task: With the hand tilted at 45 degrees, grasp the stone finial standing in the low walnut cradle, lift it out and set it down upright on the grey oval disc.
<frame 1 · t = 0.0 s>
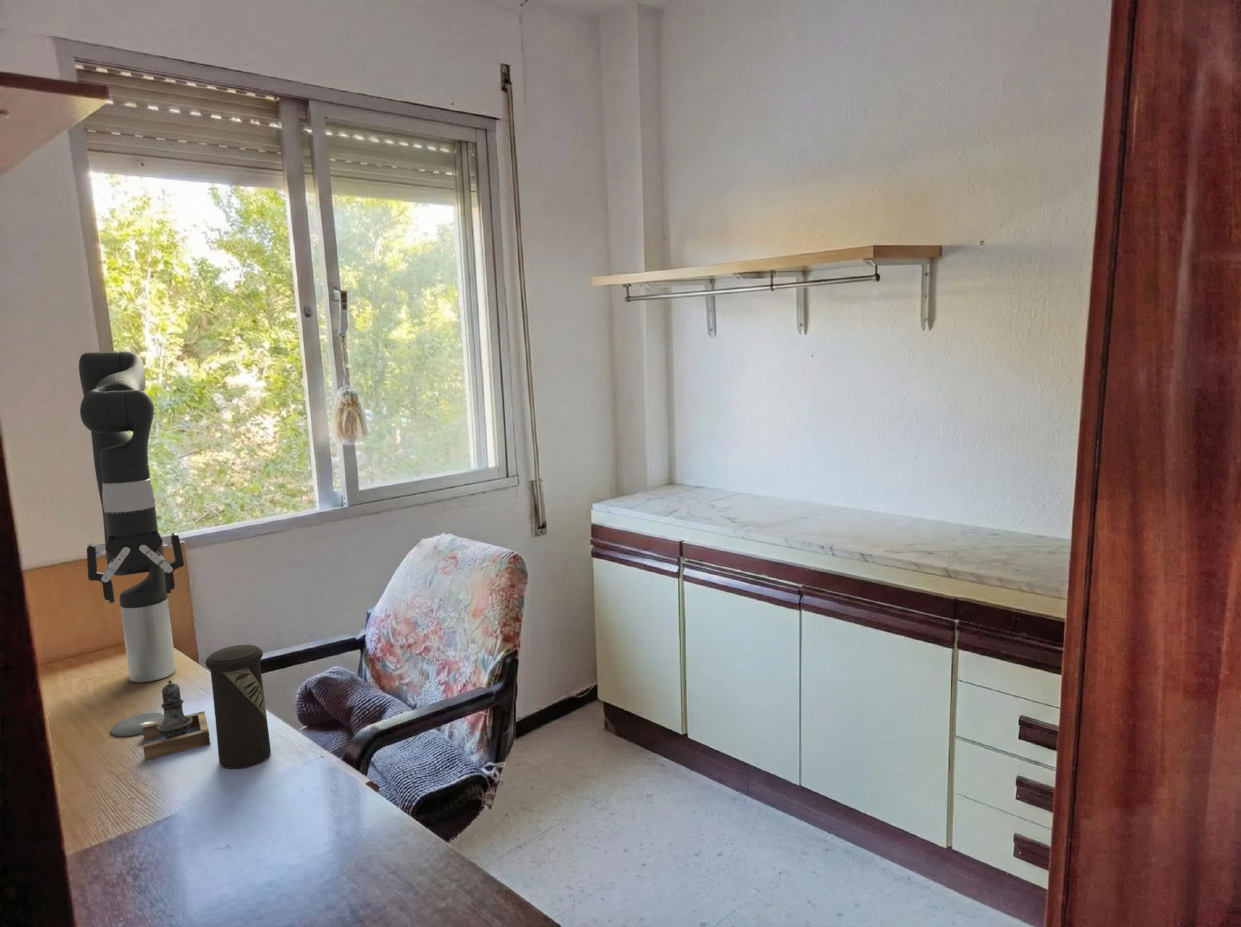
hand: (140, 597, 139), 29 cm above the table, tool pointing down, fingers open, 8 cm apart
cradle: (176, 741, 148), on the table
stone finial: (176, 742, 148), resting in cradle
grey oval disc: (138, 725, 155), on the table
container: (245, 759, 140), on the table
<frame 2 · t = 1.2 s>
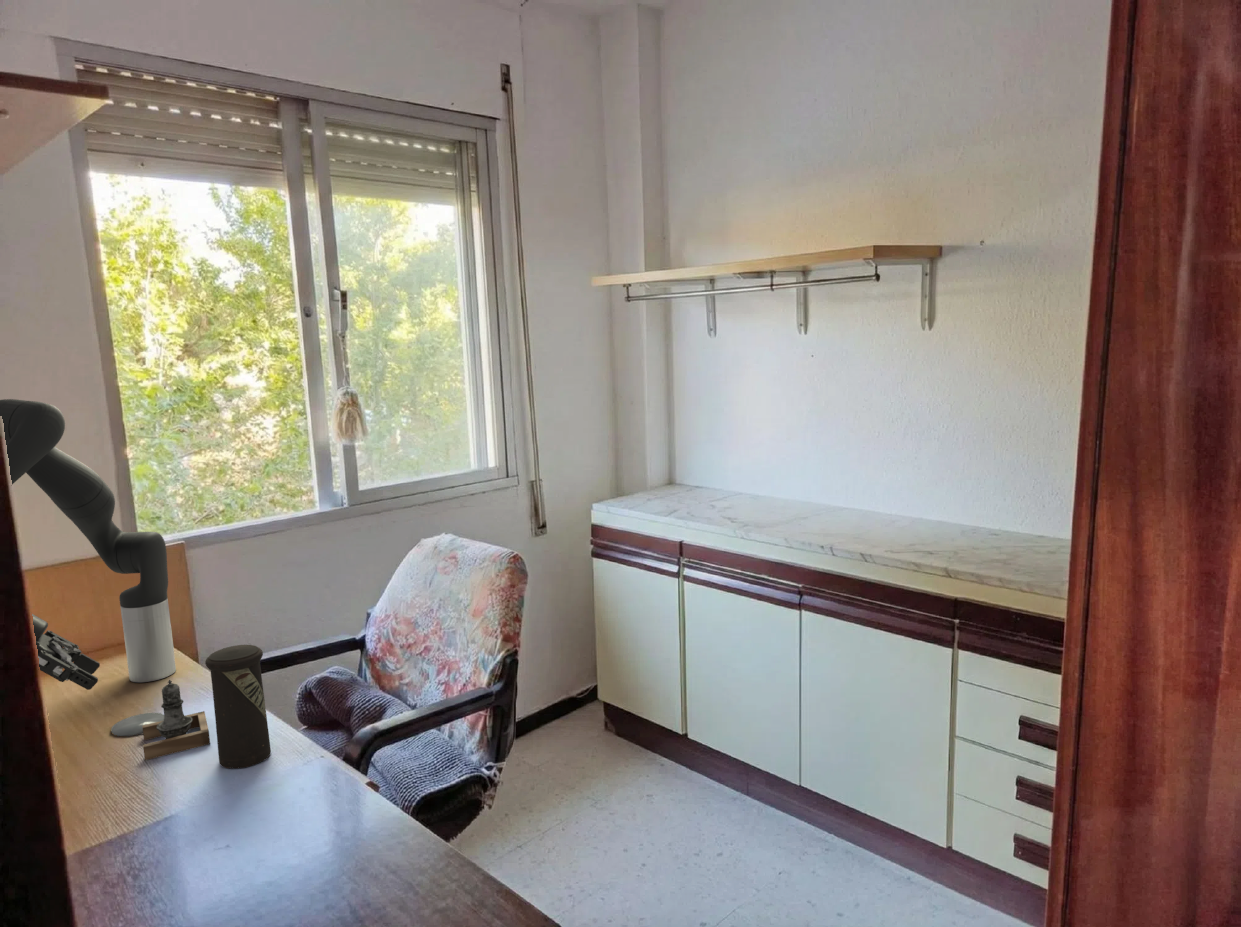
hand: (95, 676, 140), 15 cm above the table, tool tilted 45°, fingers open, 8 cm apart
nothing on the table moved.
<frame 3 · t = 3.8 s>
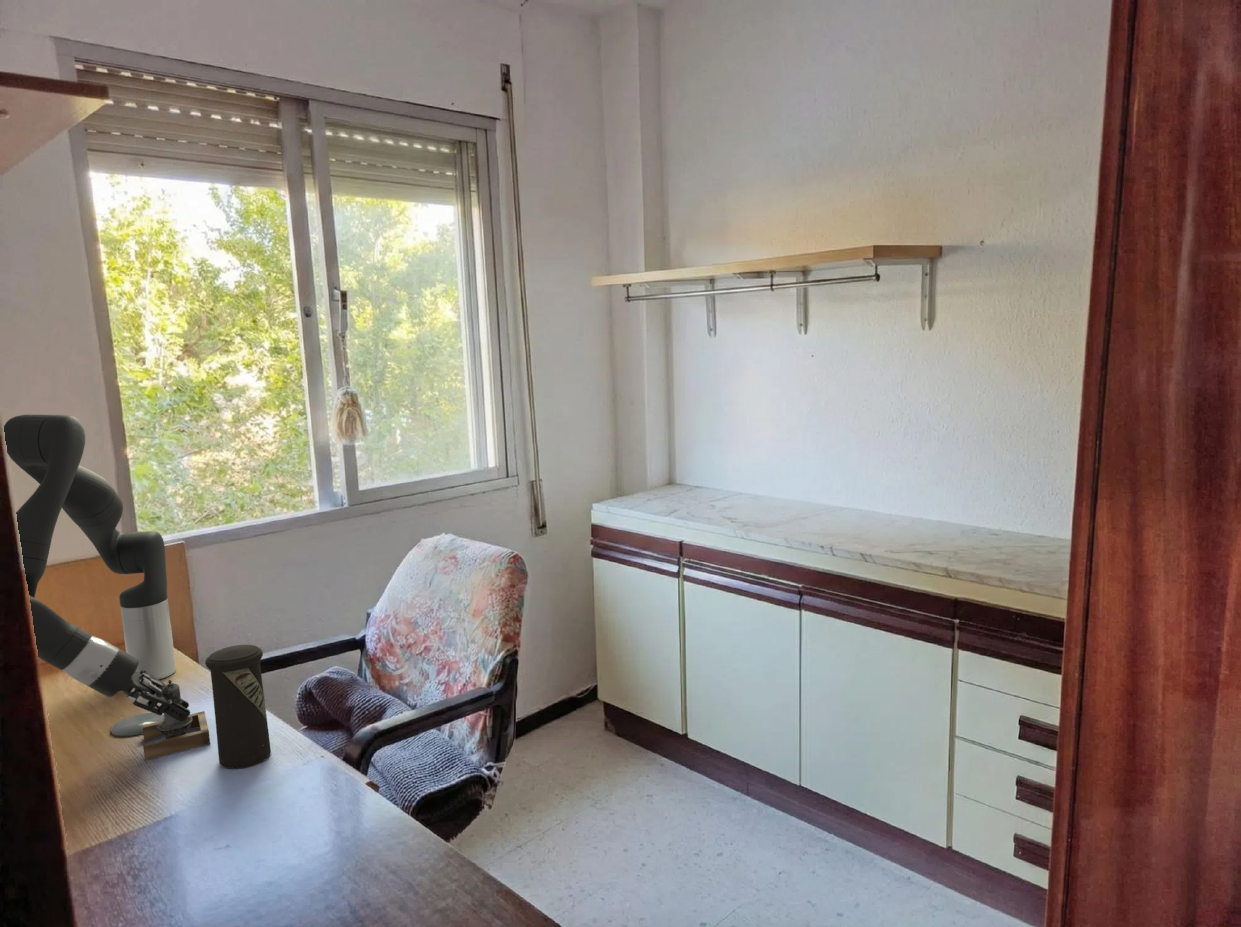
hand: (185, 712, 148), 5 cm above the table, tool tilted 45°, fingers closed on stone finial, 3 cm apart
stone finial: (176, 742, 148), resting in cradle, touching gripper
everything else where it was.
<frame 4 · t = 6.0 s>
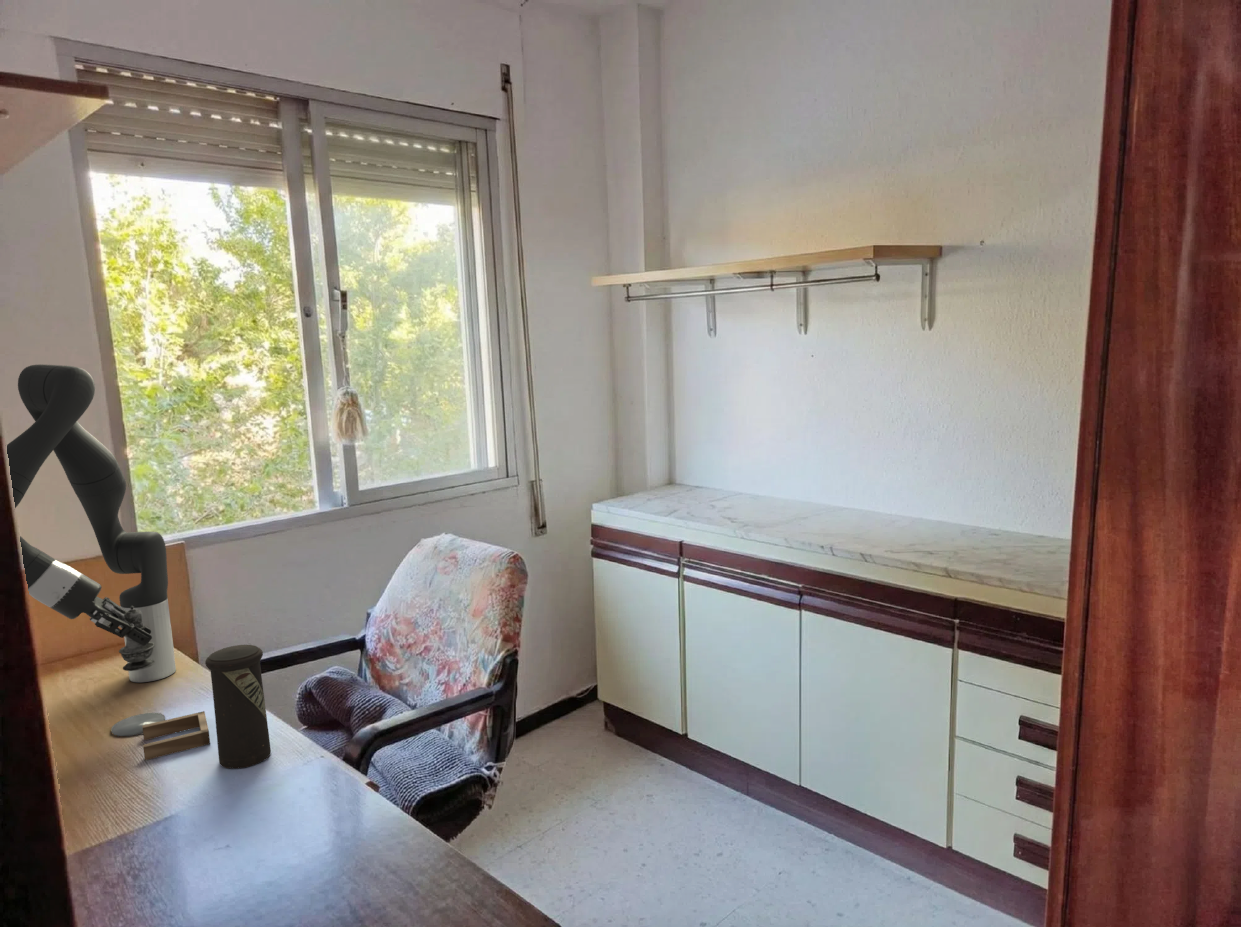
hand: (148, 638, 153), 18 cm above the table, tool tilted 45°, fingers closed on stone finial, 3 cm apart
stone finial: (139, 666, 152), point 12 cm above the table, touching gripper
everything else where it was.
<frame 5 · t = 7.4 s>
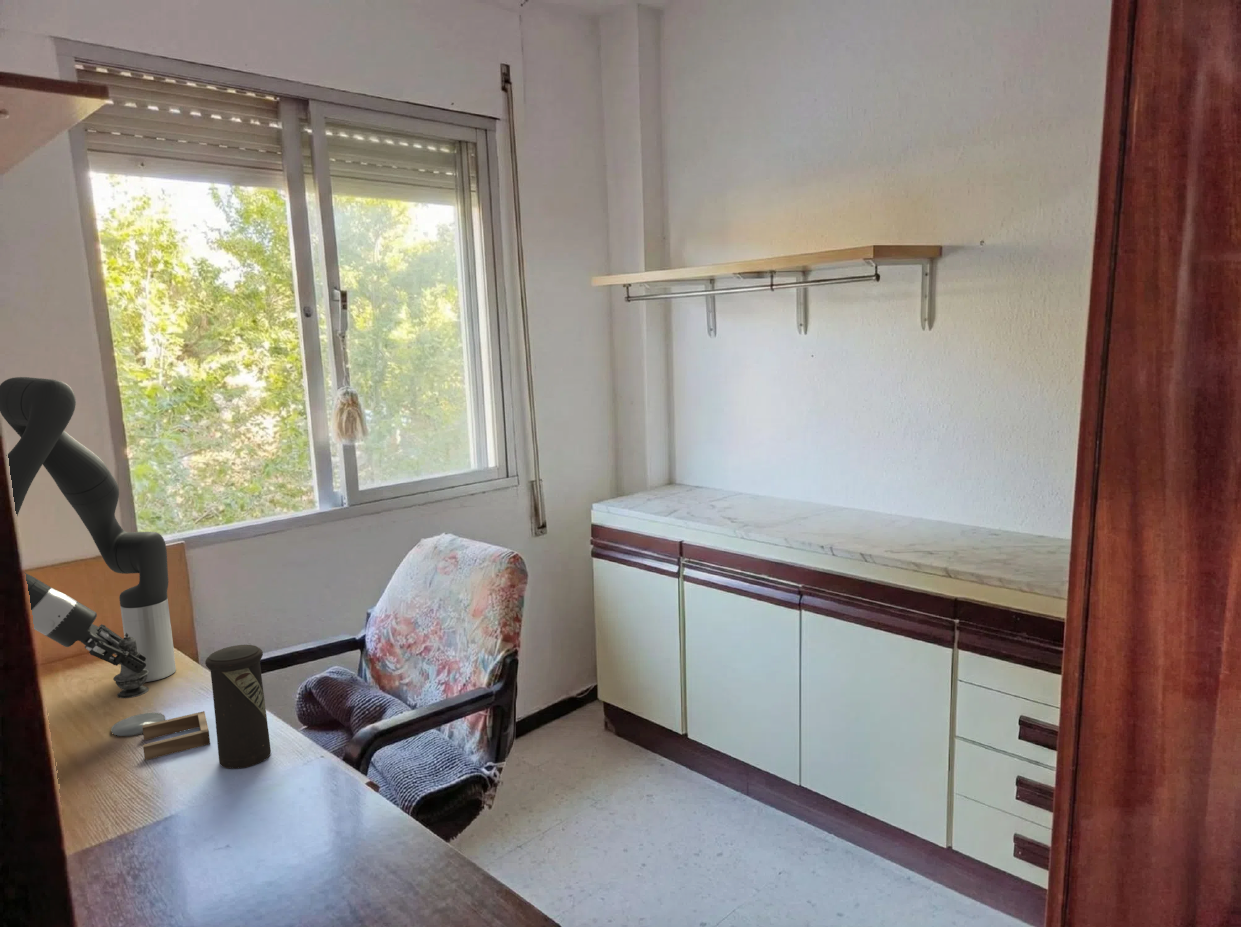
hand: (142, 665, 154), 12 cm above the table, tool tilted 45°, fingers closed on stone finial, 3 cm apart
stone finial: (133, 693, 154), point 7 cm above the table, touching gripper
everything else where it was.
when the fingers open (7 cm above the table, at t = 8.6 s): stone finial drops 1 cm, resting on grey oval disc.
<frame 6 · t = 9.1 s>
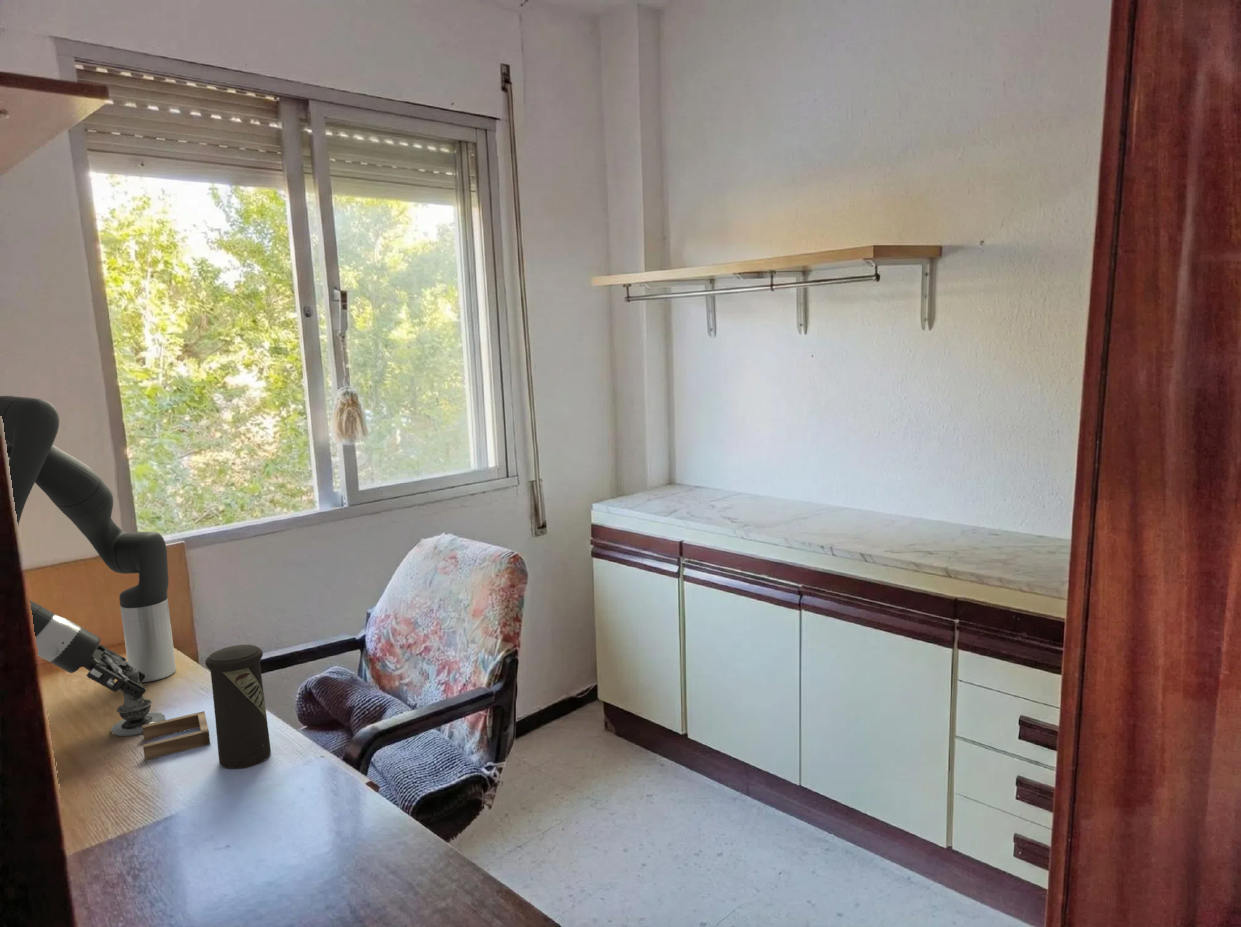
hand: (142, 687, 155), 8 cm above the table, tool tilted 45°, fingers open, 8 cm apart
stone finial: (137, 723, 155), resting on grey oval disc
everything else where it was.
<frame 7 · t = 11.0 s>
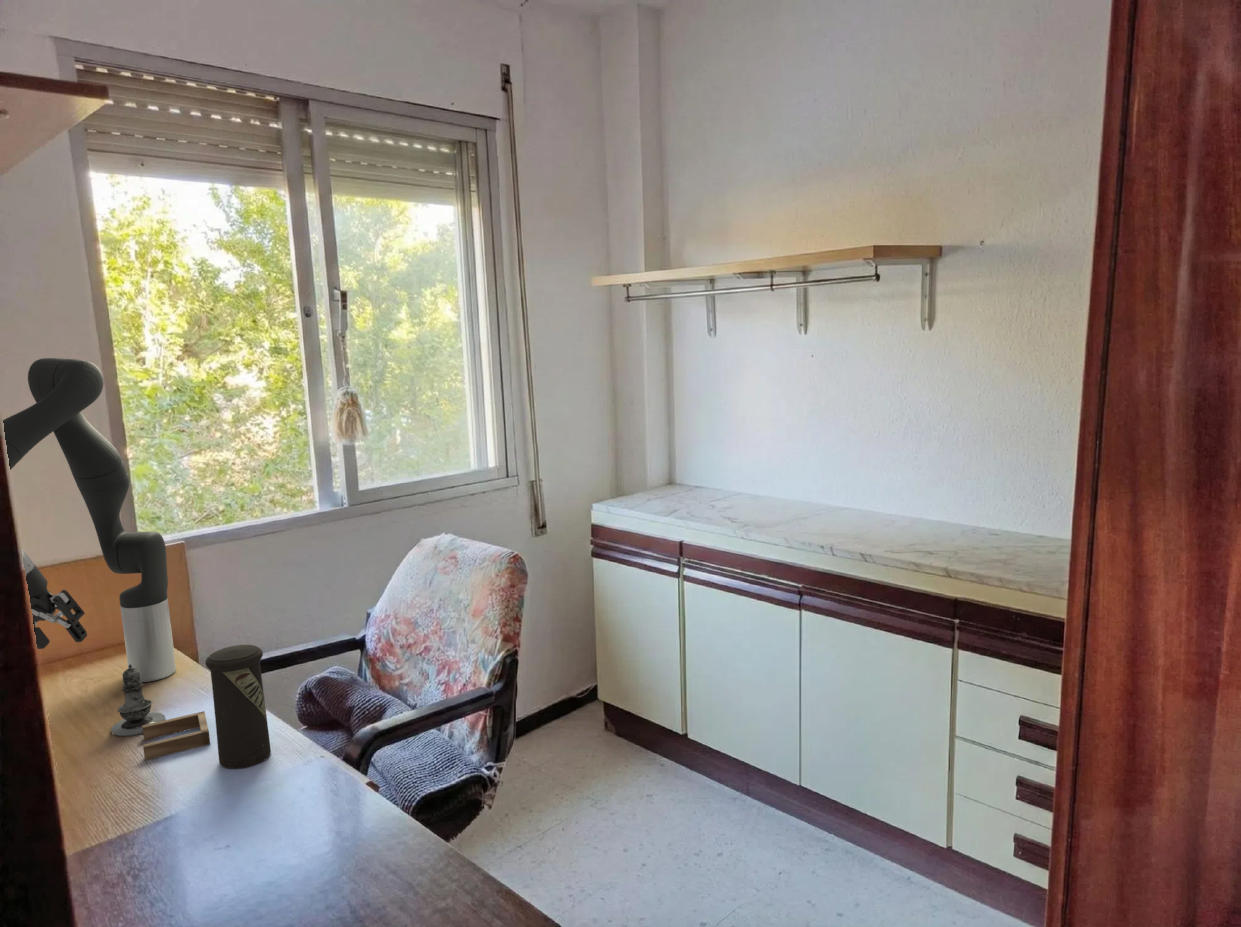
hand: (63, 642, 148), 19 cm above the table, tool tilted 25°, fingers open, 8 cm apart
nothing on the table moved.
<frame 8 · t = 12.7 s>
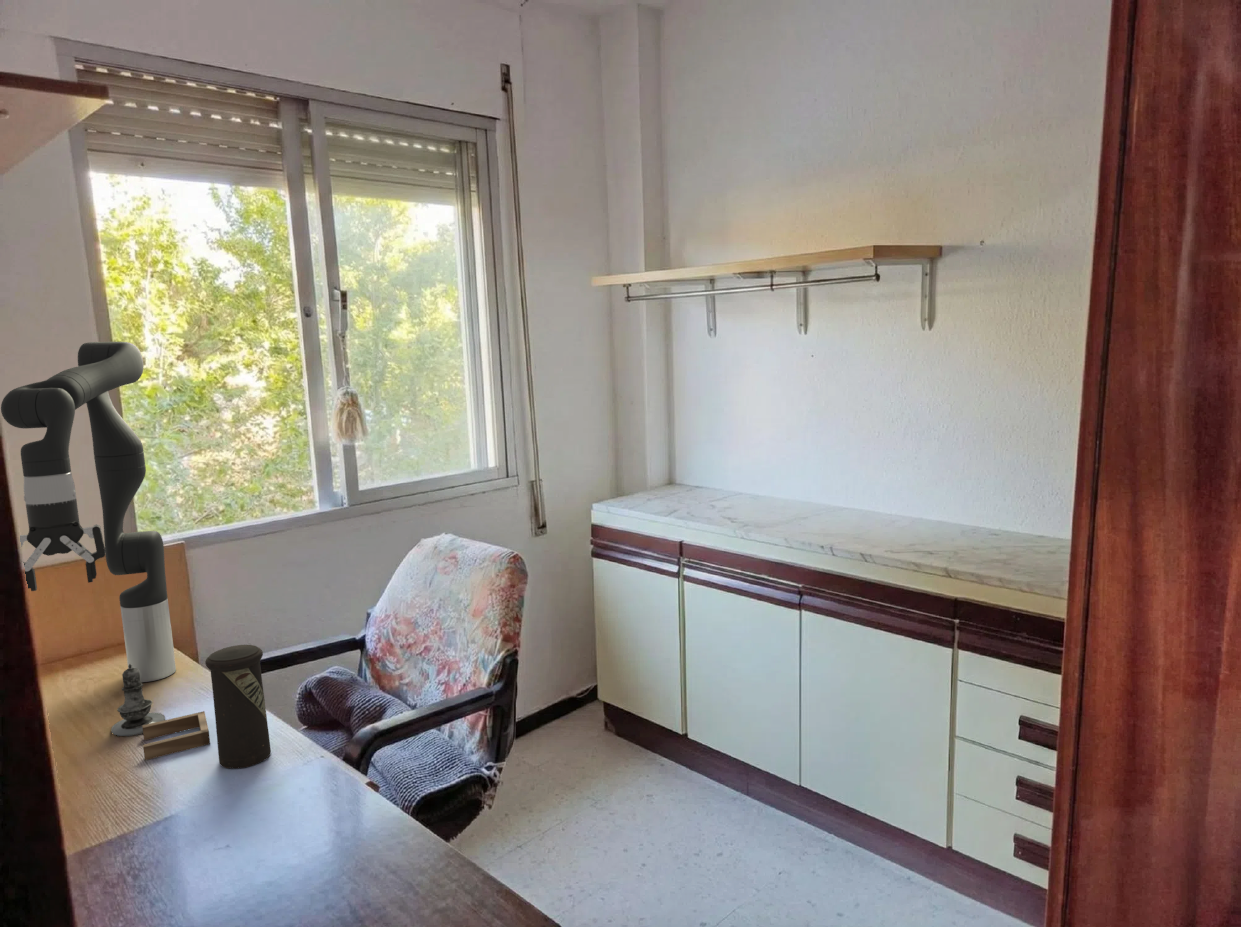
hand: (62, 585, 145), 30 cm above the table, tool pointing down, fingers open, 8 cm apart
nothing on the table moved.
at the end: stone finial 0.2 cm from the grey oval disc (horizontally); stone finial tilted 1°; stone finial resting on grey oval disc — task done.
